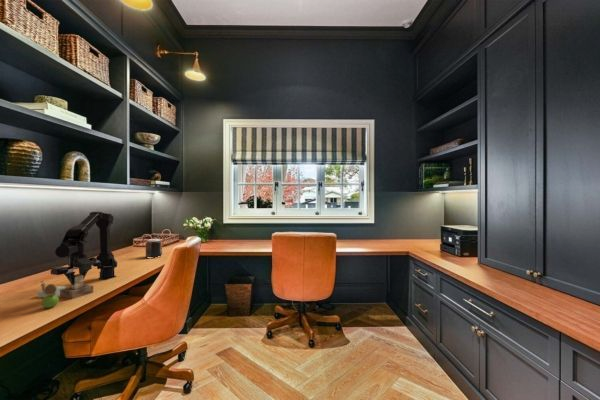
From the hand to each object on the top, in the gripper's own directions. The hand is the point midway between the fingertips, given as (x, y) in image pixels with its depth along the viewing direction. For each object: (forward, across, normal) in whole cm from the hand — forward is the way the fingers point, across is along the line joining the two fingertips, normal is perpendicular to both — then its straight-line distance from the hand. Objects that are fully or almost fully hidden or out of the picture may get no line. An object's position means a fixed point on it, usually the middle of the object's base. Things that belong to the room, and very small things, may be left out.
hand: (77, 283), depth 125 cm
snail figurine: (+6, -14, -6) cm, 16 cm away
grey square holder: (+5, 0, 0) cm, 5 cm away
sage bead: (+5, -4, +12) cm, 14 cm away
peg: (+2, 0, 0) cm, 2 cm away
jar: (+6, +76, +36) cm, 84 cm away
